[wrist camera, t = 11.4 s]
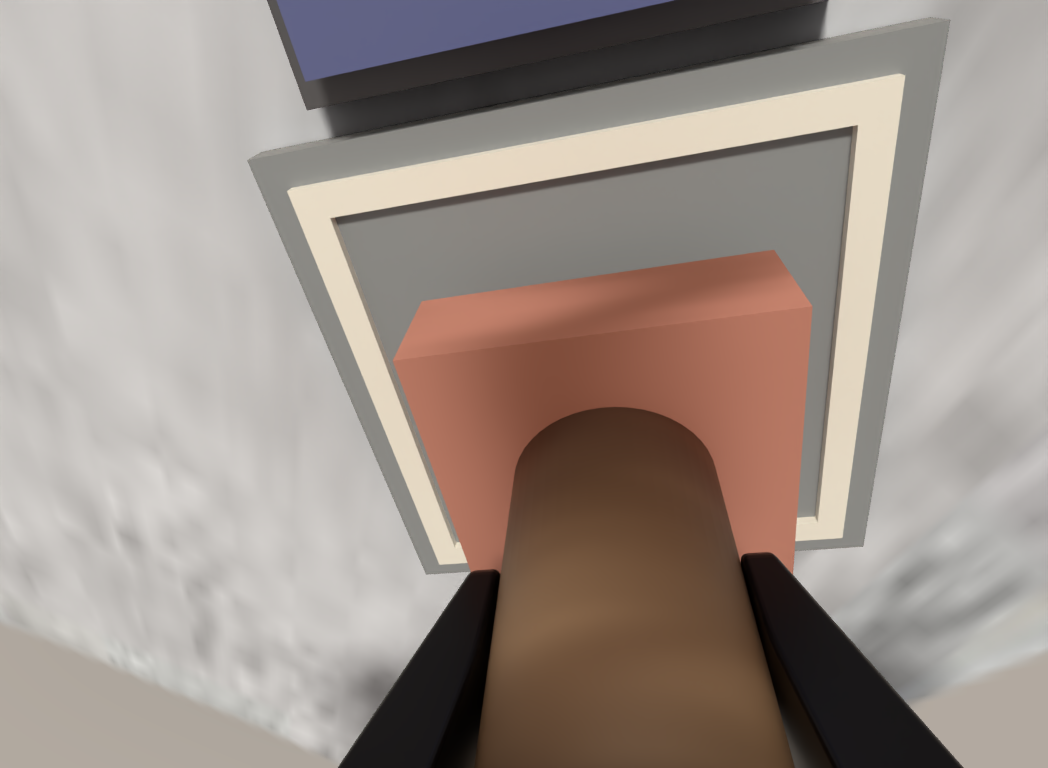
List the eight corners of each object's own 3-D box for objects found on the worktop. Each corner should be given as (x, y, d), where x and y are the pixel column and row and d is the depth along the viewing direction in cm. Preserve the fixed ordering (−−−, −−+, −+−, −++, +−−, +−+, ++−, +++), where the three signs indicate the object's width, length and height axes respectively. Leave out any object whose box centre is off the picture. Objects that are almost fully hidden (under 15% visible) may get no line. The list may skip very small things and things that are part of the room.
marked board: (930, 17, 9) (956, 21, 9) (854, 528, 15) (866, 553, 15) (261, 151, 11) (242, 163, 11) (430, 557, 17) (424, 580, 17)
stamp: (774, 249, 10) (1539, 1374, 2) (765, 511, 13) (1038, 1323, 5) (421, 301, 11) (-2, 1163, 3) (495, 531, 14) (384, 1234, 6)
